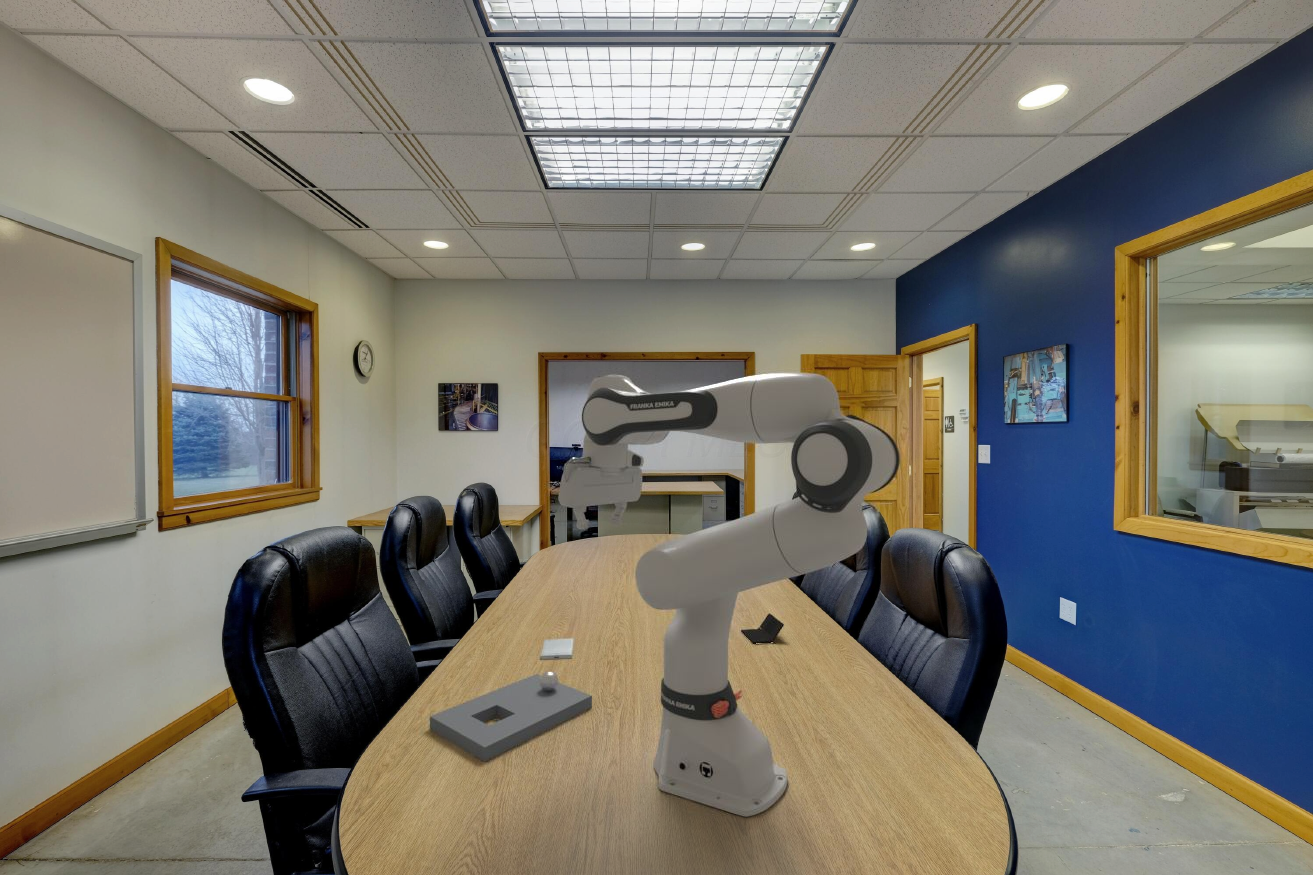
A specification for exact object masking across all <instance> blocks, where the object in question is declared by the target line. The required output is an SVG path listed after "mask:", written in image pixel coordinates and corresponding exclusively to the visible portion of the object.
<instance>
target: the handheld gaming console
mask: <svg viewBox="0 0 1313 875" xmlns="http://www.w3.org/2000/svg"><path fill="white" fill-rule="evenodd" d="M784 626H785V624H784V623H783V622H781V620H780V619H778V618H776V617H775V616H774V615H773V614H772V613H768V614H767V615H766V617H765V619H764V620H762V623H761V624H760V625H759V627H757V628H750V629H749V628H747V629H740V633H741V632H742V633H743V634H744V635H745V636H746V637H747V638H748V639H749V640H750V641H751V642H752V643H753V644H756V643H771V642H773V643H774V641H775V640H776V638H777V636H778V635H779V633H780V632H781V631H782V629H783V627H784ZM742 633H741V634H742ZM743 634H742V635H743ZM744 635H743V636H744ZM745 636H744V637H745ZM746 637H745V638H746ZM747 638H746V639H747ZM748 639H747V640H748ZM749 640H748V641H749ZM750 641H749V642H750ZM751 642H750V643H751ZM752 643H751V644H752ZM753 644H752V645H753ZM756 645H757V644H756Z"/></svg>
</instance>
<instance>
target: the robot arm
mask: <svg viewBox="0 0 1313 875" xmlns="http://www.w3.org/2000/svg"><path fill="white" fill-rule="evenodd" d="M840 406H841V405H840V397H839V395H838V390H837V389H836V387H835V385H834V384H833V382H832V381H831V380H830V379H829V378H828V377H826V376H825V375H821V374H818V373H809V372H796V371H795V372H791V371H790V372H787V371H786V372H785V371H784V372H772V373H762V374H754V375H749V376H748V375H747V376H744V377H740V378H735V379H731V380H726V381H723V382H718V383H714V384H710V385H705V386H699V387H695V388H691V389H686V390H679V391H672V392H671V391H669V392H661V393H649V392H647V391H646V390H643V389H641V388H640V387H639V386H637V385H635V384H634V383H633V381H632V380H631V378H630V377H628V376H626V375H624V374H623V375H622V374H605V375H604V374H603V375H599V376H596V377H595V378H594V379H592V381H591V383H590V386H589V389H588V393H587V400H586V401H585V403H584V404H583V407H582V411H581V422H582V427H583V429H584V431H585V435H584V437H583V442H582V444H583V445H582V446H583V447H582V449H583V450H582V456H581V457H576V456H575V457H571V458H570V459H569V460H567V462H566V463H564V466H563V473H562V475H561V480H560V484H559V485H560V486H559V490H558V496H557V497H558V498H557V500H558V502H559V504H560V505H561V506H562V507H567V508H572V512H573V514H574V516H575V518H576V528H577V529H578V530H586V529H589V523H590V520H589V519H586V515H585V513H586V512H587V507H591V506H601V505H602V506H603V505H610V504H612V505H613V504H614V507H615V509H614V511H613V514H611V515H610V520H609V521H610V524H611V525H621V524H622V518H623V515H624V513H625V511H626V509H627V508H628V507H627V506H628V503H630V502H638V500H639V499H640V497H641V495H642V494H641V493H642V487H643V470H642V469H641V468H642V467H643V466H644V463H645V461H644V457H643V455H640V454H638V453H636V452H634V451H632V450H631V449H629V445H630V446H631V445H632V446H635V445H636V446H637V445H647V446H648V445H655V444H658V443H661V442H663V441H664V439H666V437H667V436H668V435H669V433H670V432H680V433H681V432H682V433H683V432H684V433H688V434H689V433H690V434H696V435H700V436H701V435H702V436H706V437H711V438H717V439H720V440H721V439H722V440H726V441H731V442H737V443H746V444H765V445H766V444H778V443H779V444H781V443H782V444H784V443H785V444H786V443H789V444H793V445H792V450H791V454H790V455H791V456H790V464H791V470H792V473H793V474H792V475H793V478H794V480H795V486H796V488H795V489H796V494H797V496H798V497H796V498H793V499H791V500H790V499H789V500H787V501H785V502H782V503H779V504H776V505H773V506H770V507H768V508H764V509H762V510H759V511H756V512H754V513H751V514H747V515H746V516H743V517H739V518H736V519H734V520H730V521H727V522H724V523H721V524H718V525H714V526H710V527H708V528H707V527H706V528H704V529H701V530H698V531H694V532H692V533H689V534H685V535H682V536H680V537H676V538H673V539H670V540H667V541H664V542H662V543H660V544H658V545H657V546H653V548H651V549H649V550H647V551H646V552H645V553H643V554H642V555H641V556H640V558H639V559H638V561H637V564H636V566H635V572H634V579H635V585H636V589H637V592H638V594H639V595H640V597H641V599H642V600H643V601H644V602H645V603H646V604H647V605H648V606H649V607H651V608H653V609H655V610H661V611H666V610H667V611H670V610H676V612H675V613H674V615H673V618H672V619H671V622H670V623H669V624H668V627H667V628H666V630H665V633H664V636H663V677H662V678H661V683H660V704H661V705H662V716H661V725H660V726H661V727H660V733H659V734H660V735H659V739H658V745H657V749H656V753H655V757H654V760H653V767H654V770H655V771H654V772H656V773H657V774H656V775H658V782H657V783H658V784H657V785H658V786H657V787H658V789H659V790H660V791H662V792H666V793H669V794H671V795H675V796H678V797H681V798H684V799H686V800H690V801H694V802H697V803H700V804H702V805H706V806H709V807H712V808H716V809H719V810H722V811H726V812H728V813H732V814H734V815H738V816H742V817H751V816H755V815H757V814H761V813H762V812H765V811H766V810H768V809H769V808H770V807H771V806H773V805H774V804H775V803H776V802H777V801H778V800H779V799H780V798H781V797H782V795H783V794H784V793H785V791H786V789H787V787H788V774H787V770H786V769H785V768H783V767H781V766H780V765H777V764H776V763H774V759H773V753H772V748H771V744H770V741H769V739H768V737H766V735H764V734H763V732H762V731H761V730H759V728H758V727H757V726H756V725H755V724H754V723H753V722H752V721H751V720H750V719H749V718H748V716H746V715H745V714H744V712H743V711H742V710H741V709H740V708H739V707H738V700H740V699H741V698H742V695H741V694H742V692H743V691H742V690H740V689H739V691H737V692H735V693H734V691H733V690H734V689H733V688H732V684H731V682H730V680H729V640H730V639H729V638H730V630H731V624H732V620H733V616H734V612H735V607H736V603H737V600H738V596H739V593H740V592H741V593H742V592H743V591H744V592H745V591H748V590H751V589H754V588H757V587H761V586H764V585H768V584H772V583H776V582H779V581H782V580H787V579H791V578H794V577H799V576H801V575H805V574H808V573H809V574H810V573H812V572H815V571H819V570H822V569H825V568H827V567H829V566H830V567H831V566H832V565H835V564H837V563H839V562H841V561H844V560H846V559H847V558H849V557H851V556H853V555H855V554H857V553H859V552H860V550H862V549H863V547H864V546H865V544H866V541H867V537H868V526H867V520H866V516H865V514H864V512H863V503H864V500H865V497H866V496H867V495H868V494H871V493H872V494H873V493H877V492H879V491H881V490H883V489H884V488H885V487H887V486H889V484H890V483H891V482H892V481H894V479H895V477H896V475H897V473H898V471H899V467H900V461H901V457H900V456H901V455H900V450H899V447H898V445H897V443H896V441H895V440H894V438H893V437H892V436H891V435H890V434H889V433H888V432H886V431H885V430H884V429H882V428H880V427H879V426H877V425H875V424H873V423H871V422H868V421H866V420H864V419H862V418H861V417H858V416H856V415H854V414H848V415H844V414H843V412H842V410H841V407H840Z"/></svg>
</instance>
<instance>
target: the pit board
mask: <svg viewBox="0 0 1313 875" xmlns="http://www.w3.org/2000/svg"><path fill="white" fill-rule="evenodd" d="M540 677H541V675H540V674H537V673H536V674H532V675H530V676H528V677H526V678H523V679H520V680H517V681H515V682H513V683H510V684H508V685H505V686H502V687H500V688H497V689H495V690H493V691H490V692H488V693H485V694H483V695H480V696H478V697H474V698H472V699H470V700H467V701H464V702H463V703H460V704H456V705H455V706H452V707H449V708H447V709H445V710H443V711H440V712H437V713H434V714H432V715H430V716H429V730H430V731H431V732H434V733H435V734H437V735H438V736H440V737H441V738H443V739H445V740H447V741H448V742H450V743H452V744H453V745H455V746H457V747H458V748H461V750H464V751H466V752H467V753H469V754H470V755H472V756H474V757H476V758H477V759H479V760H480V761H482V762H484V763H485V762H488V761H489V760H491V759H494V758H496V757H498V756H500V755H502V754H504V753H505V752H507V751H510V750H512V749H513V748H515V747H518V746H519V745H521V744H523V743H525V742H527V741H530V740H531V739H533V738H535V737H537V736H539V735H541V734H543V733H545V732H547V731H548V730H549V731H550V730H551V729H553V728H555V727H557V726H559V725H561V724H563V723H564V722H566V721H568V720H570V719H571V720H572V718H574V717H576V716H578V715H580V714H583V713H584V712H586V711H589V710H590V709H592V708H593V695H591V694H588V693H586V692H584V691H581V690H579V689H576V688H573V687H571V686H569V685H566V684H563V683H561V682H558V685H557V687H556V688H555V689H554V690H552V691H545V690H543V689H542V688H541V687H540V683H539V680H540ZM496 718H497V719H499V720H498V721H496V722H494V723H492V724H490V725H489V724H487V722H490V721H491V720H494V719H496Z"/></svg>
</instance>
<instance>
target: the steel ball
mask: <svg viewBox="0 0 1313 875" xmlns="http://www.w3.org/2000/svg"><path fill="white" fill-rule="evenodd" d="M540 676H541V677H540V680H539V683H540V687H541V688H542V689H543V690H545V691H552V690H554V689H555V688H556V687H557V685H558V683H559V677H558V674H557V673H556V672H555V671H553V670H547V671H545V672H543V673H542V674H541V675H540Z"/></svg>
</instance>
